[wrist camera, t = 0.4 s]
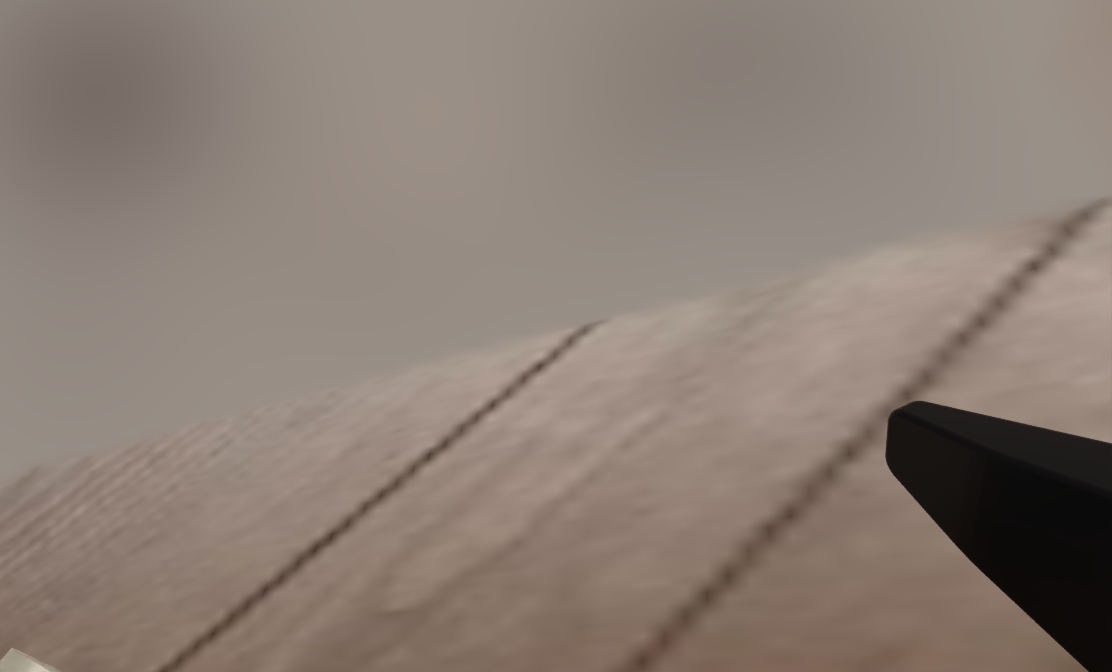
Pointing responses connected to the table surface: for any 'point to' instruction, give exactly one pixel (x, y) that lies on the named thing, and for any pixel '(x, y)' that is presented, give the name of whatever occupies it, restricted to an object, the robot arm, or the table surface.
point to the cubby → (23, 663)
